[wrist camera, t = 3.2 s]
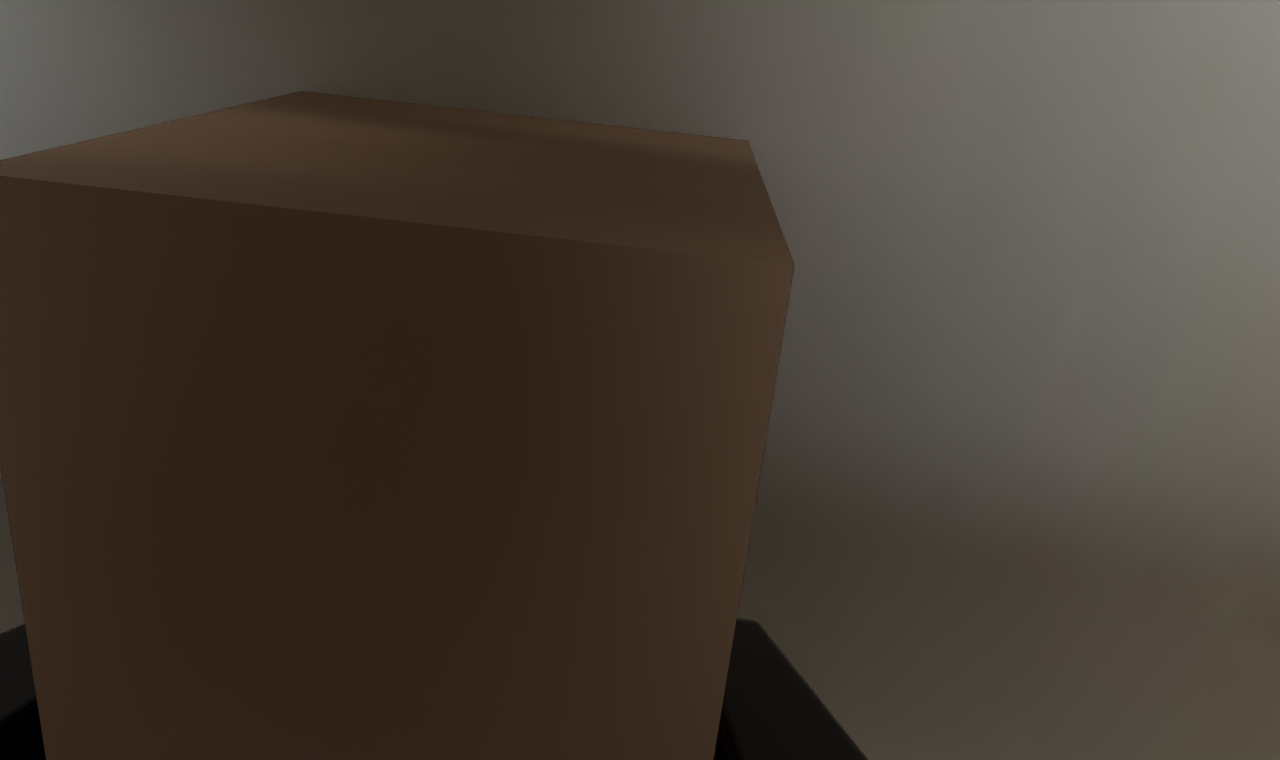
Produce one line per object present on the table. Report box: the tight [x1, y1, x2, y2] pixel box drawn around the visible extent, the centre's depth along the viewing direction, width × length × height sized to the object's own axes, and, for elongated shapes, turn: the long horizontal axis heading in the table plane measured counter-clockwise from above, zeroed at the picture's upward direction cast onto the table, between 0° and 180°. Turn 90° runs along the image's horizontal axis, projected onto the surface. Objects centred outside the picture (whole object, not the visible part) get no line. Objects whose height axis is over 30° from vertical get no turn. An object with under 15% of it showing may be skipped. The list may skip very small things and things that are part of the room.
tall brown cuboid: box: [0, 91, 794, 760], centre depth 7 cm, size 4×8×4 cm, turn 174°
